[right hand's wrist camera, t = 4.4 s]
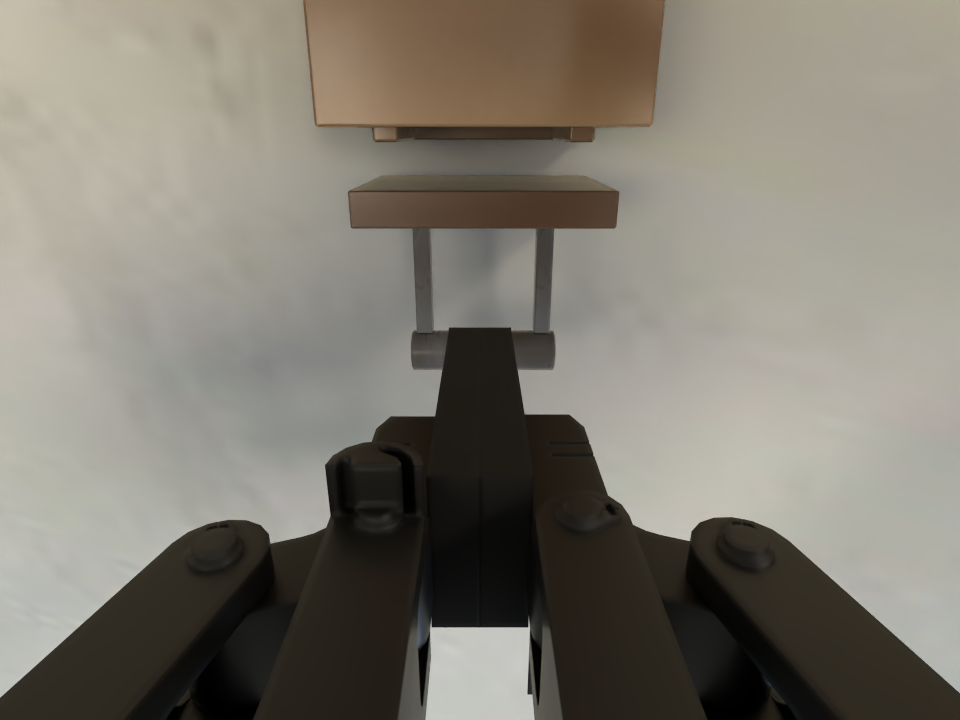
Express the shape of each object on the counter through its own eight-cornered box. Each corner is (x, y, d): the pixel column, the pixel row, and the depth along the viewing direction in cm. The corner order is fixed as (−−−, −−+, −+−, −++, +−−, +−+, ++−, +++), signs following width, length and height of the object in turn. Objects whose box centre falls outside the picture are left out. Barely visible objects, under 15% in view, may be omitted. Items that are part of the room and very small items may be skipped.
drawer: (576, 329, 27) (603, 387, 21) (389, 329, 27) (363, 386, 21) (622, -404, 18) (691, -667, 12) (346, -402, 19) (279, -665, 12)
